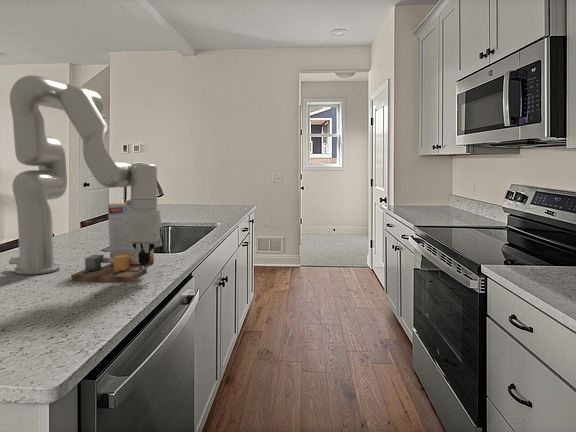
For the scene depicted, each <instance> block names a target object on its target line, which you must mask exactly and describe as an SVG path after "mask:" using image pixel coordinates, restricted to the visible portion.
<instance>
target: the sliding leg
mask: <svg viewBox="0 0 576 432" xmlns="http://www.w3.org/2000/svg"><path fill="white" fill-rule="evenodd" d="M130 257H131V254H121V255H117V256H115V257H114V270H113V273H116V272H118V271H120V270H126V269H127V268H130V265H129V258H130Z"/></svg>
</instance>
